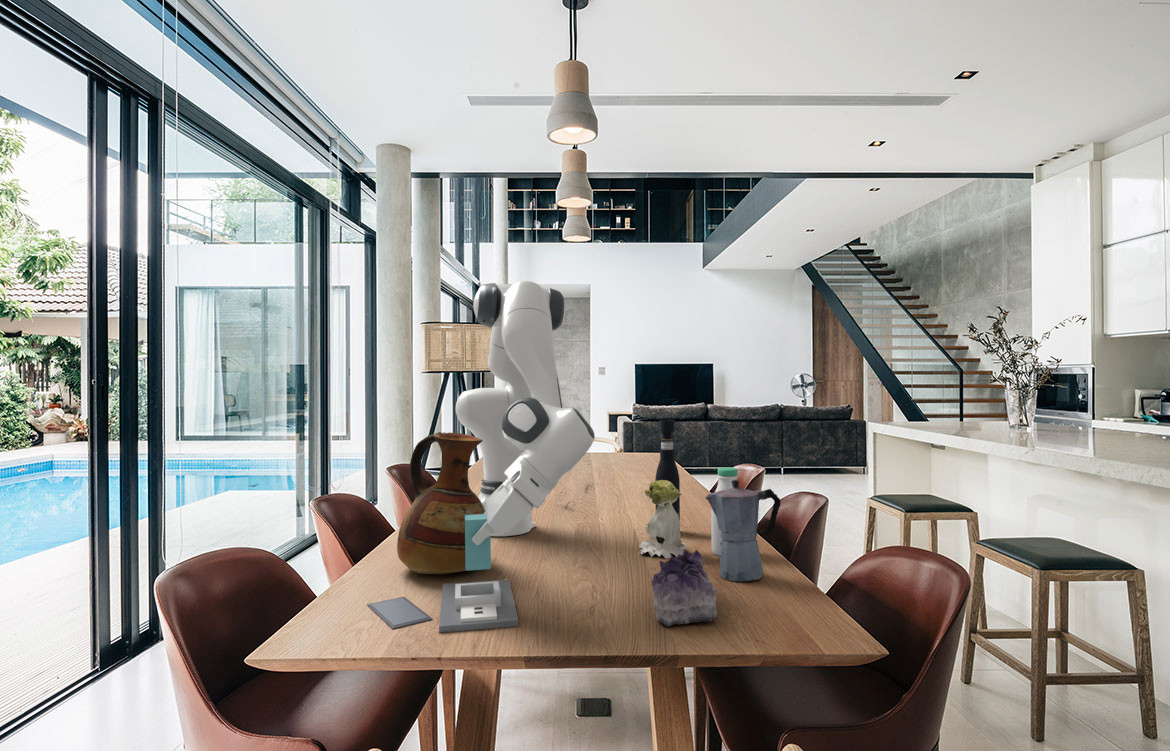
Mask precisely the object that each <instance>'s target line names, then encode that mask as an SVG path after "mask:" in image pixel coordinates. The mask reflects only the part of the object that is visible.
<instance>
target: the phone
mask: <svg viewBox="0 0 1170 751" xmlns="http://www.w3.org/2000/svg"><path fill="white" fill-rule="evenodd" d="M366 606H367V607H368V608H369V609H370V610H371V611H372V612H373V613H374V614H375V615H376V616H378V618H379V619H381V620H382V622H384V623H385V624H386V625H387V626H388V627H389V628H390V629H391V630H397V629H401V628H406V627H409V626H414V625H419V624H421V623H425V622H431V621H433V620H434V619H433V617H432V616H430V615H429V614H427V612H425V611H424V610H422V609H421V608H419V607H418V606H417V605H415V604H414V603H413V602H411V601H410V600H409V599H407V597H406V596H400V597H396V598H390V599H386V600H381V601H376V602H372V603H367V604H366Z"/></svg>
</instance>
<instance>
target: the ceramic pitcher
mask: <svg viewBox="0 0 1170 751" xmlns="http://www.w3.org/2000/svg"><path fill="white" fill-rule="evenodd" d="M482 441H483V440H482V439H479V438H477V437H475V436H474V435H470V434H469V435H468V434H466V433H458V432H450V431H449V432H445V431H443V432H441V431H439V432H435V433H433V434H431V435H430V434H429V435H427V436H426V437H423V439H421V440H420V441H418V443H417V444H416V445H415V446H414V449H413V452H412V454H411V457H410V461H409V474H410V479H411V482H412V486H413V490H414V493H415V494H414V496H415V497H414V501H413V502H412V503H411V505H410V506H409V508H408V510H407V511H406V513H405V515H404V517H403V519H402V522H401V525H400V527H399V531H398V535H397V542H396V551H397V556H398V559H399V561H401V563H402V564H403V565H404V566H406V568H408V569H409V570H411V571H412V572H415V573H419V574H424V575H448V574H453V573H454V574H455V573H462V572H465V571H466V566H465V515H477V514H484V513H485V509H484V507H483V505H482V503H481V501H480V499H479V498H478V495H477V494H476V493H475V492H474V491H473V490H472V489H471V488H470V484H469V467H470V464H471V463H470V462H471V457H472V455H473V452H474V450H475V449H476V448H477V447H478V446H480V443H481V442H482ZM436 442H437V443H438V447H439V448H440V452H441V466H440V470H439V474H438V477H437V479H436V482H434V484H433V485H432V486H429V487H427V486H426V485H425V482H424V479H423V474H422V473H423V472H422V462H423V458H424V455H425V453H426V451H427V450H428V448H429V446H431V445H432V444H434V443H436Z"/></svg>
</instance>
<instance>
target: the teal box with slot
mask: <svg viewBox="0 0 1170 751" xmlns="http://www.w3.org/2000/svg"><path fill="white" fill-rule="evenodd" d="M486 521H487V516H486V514H477V515H465V566H466V571H467V572H468V571H480V570H481V571H482V570H491V569H492V555H491V554H492V551H491V550H492V547H491V546H492V545H491V542H492V541H491V537H492V536H491V535H490V536H489V537H487V538H486V539H485V540H484V541H483V542H482V543H481V544H480V545H476V544H475V543H474V542H473V541H472V536H473V535H474V534H475V533H476V532H477V531H478V530H479V529H480V528H481V527H482V526H483V525H484V524H485V522H486Z"/></svg>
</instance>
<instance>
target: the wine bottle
mask: <svg viewBox="0 0 1170 751" xmlns="http://www.w3.org/2000/svg"><path fill="white" fill-rule="evenodd" d="M659 433H660V434H661V433H662V434H661V436H662V437H661V439H662V441H661V443H660V445H661V446H660V450H659V462H658V465H657V468H656V473H655V479H654V480H655V481H658V480H667V481H669V482H671V483H672V484H673V485H674V486H675V488H676V489H678V491H679V493H680V490H681V487H680V485H681V484H680V482H681V481H680V474H679V470H678V467H677V463H676V461H675V460H676V459H675V449H674V442H673V436H672V435H673V433H675V420H673V419H660V420H659ZM655 481H654V482H655ZM680 494H681V493H680ZM680 504H681V496H680V497H678V498H677V500H676V501H675V502H673V503H672V506H673V508H674V510H675V511H676V513H677V515H678V517H679V521H680V522H681V505H680ZM657 507H658V505H657V504H655V510H656V509H657Z"/></svg>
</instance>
